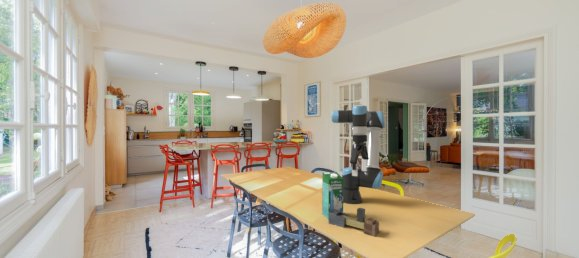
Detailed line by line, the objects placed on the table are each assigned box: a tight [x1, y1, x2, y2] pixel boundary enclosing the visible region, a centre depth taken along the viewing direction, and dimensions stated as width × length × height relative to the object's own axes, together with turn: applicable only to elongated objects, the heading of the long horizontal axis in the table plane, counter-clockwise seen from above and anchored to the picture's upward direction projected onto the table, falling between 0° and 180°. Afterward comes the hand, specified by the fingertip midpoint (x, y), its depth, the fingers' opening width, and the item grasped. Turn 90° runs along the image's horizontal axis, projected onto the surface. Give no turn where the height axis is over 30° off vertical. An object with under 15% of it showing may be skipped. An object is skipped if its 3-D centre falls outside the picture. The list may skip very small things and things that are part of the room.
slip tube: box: [341, 207, 367, 230], centre depth 122 cm, size 3×17×9 cm, turn 52°
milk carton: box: [321, 171, 344, 221], centre depth 138 cm, size 9×9×25 cm
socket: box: [363, 217, 380, 237], centre depth 117 cm, size 6×5×6 cm
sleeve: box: [328, 209, 350, 228], centre depth 128 cm, size 6×9×6 cm
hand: (359, 173), depth 129 cm, fingers open, 13 cm apart
